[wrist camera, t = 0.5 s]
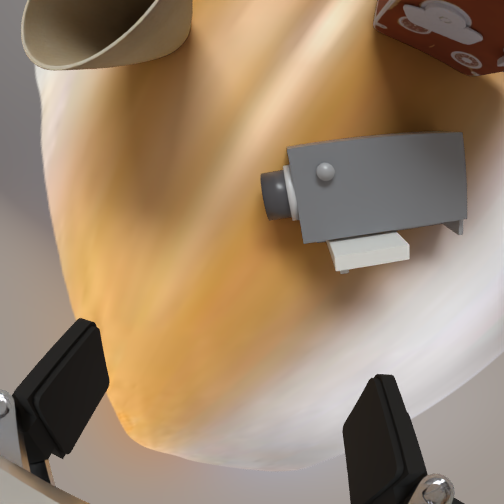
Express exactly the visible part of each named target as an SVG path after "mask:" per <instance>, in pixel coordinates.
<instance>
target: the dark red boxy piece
mask: <svg viewBox="0 0 504 504" xmlns="http://www.w3.org/2000/svg"><path fill="white" fill-rule="evenodd" d="M373 25H374V29H376V30H377V31H379V32H381V33H383V34H385V35H387V36H389V37H392V38H394V39H396V40H399V41H401V42H403V43H406V44H408V45H410V46H412V47H414V48H416V49H418V50H420V51H422V52H424V53H426V54H428V55H430V56H432V57H434V58H436V59H438V60H440V61H442V62H443V63H445V64H447V65H449V66H451V67H452V68H454V69H456V70H458V71H459V72H461V73H463V74H465V75H468V76H480V75H486V74H491V73H497V72H504V0H377V5H376V10H375V15H374V20H373Z"/></svg>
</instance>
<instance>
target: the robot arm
mask: <svg viewBox="0 0 504 504" xmlns="http://www.w3.org/2000/svg"><path fill="white" fill-rule="evenodd" d="M108 386H109V376H108V371H107V367H106V362H105V357H104V352H103V346H102V341H101V335H100V330H99V328H97V327H96V324H95V323H94V322H91V321H88V320H85V319H82V318H79V319H78V320H77V321H76V322H75V323H74V324H73V325H72V326H71V327H70V328H69V329H68V330H67V331H66V333H65V334H64V335H63V336H62V337H61V338H60V339H59V340H58V341H57V342H56V343H55V345H54V346H53V347H52V348H51V349H50V350H49V351H48V352H47V353H46V355H45V356H44V357H43V358H42V359H41V360H40V361H39V363H38V364H37V365H36V366H35V367H34V369H33V370H32V371H31V372H30V373H29V374H28V375H27V377H26V378H25V379H24V380H23V381H22V383H21V384H20V385H19V386H18V387H17V389H16V390H15V391H14V393H13V395H12V396H11V395H10V394H9V393H8V392H7V391H4V390H0V504H89V503H87V502H85V501H83V500H81V499H79V498H76V497H75V496H72V495H71V494H69V493H67V492H65V491H63V490H60V489H59V488H57V487H56V486H55V483H54V479H53V476H52V472H51V469H50V464H49V460H48V458H49V457H50V455H51V453H52V454H54V455H56V456H58V457H60V458H62V459H63V457H64V456H65V454H69V453H70V452H71V451H72V449H73V447H74V446H75V443H76V442H77V440H78V438H79V437H80V435H81V433H82V431H83V430H84V428H85V426H86V425H87V423H88V421H89V419H90V418H91V416H92V414H93V412H94V411H95V409H96V407H97V406H98V404H99V402H100V400H101V399H102V397H103V396H104V394H105V392H106V391H107V389H108ZM343 439H344V447H345V455H346V463H347V472H348V480H349V491H350V501H351V504H464V503H462V502H460V501H459V500H457V499H455V498H454V487H453V484H452V483H451V481H450V480H449V479H448V478H447V477H445V476H444V475H441V474H430V475H427V471H426V467H425V464H424V461H423V457H422V454H421V450H420V447H419V444H418V441H417V438H416V434H415V431H414V429H413V425H412V422H411V419H410V416H409V414H408V413H407V411H406V408H405V405H404V403H403V400H402V397H401V394H400V391H399V389H398V386H397V383H396V380H395V378H394V376H393V375H384V374H377V375H375V377H374V378H371V379H370V380H369V381H368V383H367V385H366V387H365V389H364V391H363V392H362V394H361V396H360V398H359V400H358V401H357V403H356V405H355V406H354V408H353V410H352V412H351V413H350V415H349V417H348V418H347V420H346V422H345V423H344V426H343Z"/></svg>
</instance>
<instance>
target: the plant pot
mask: <svg viewBox="0 0 504 504" xmlns="http://www.w3.org/2000/svg"><path fill="white" fill-rule="evenodd" d="M191 21H192V0H28V1H27V3H26V6H25V9H24V13H23V18H22V23H21V38H22V44H23V48H24V50H25V52H26V54H27V56H28V58H29V59H30V60H31V61H32V62H33V63H34V64H35V65H37V66H39V67H41V68H43V69H47V70H78V69H97V68H109V67H117V66H125V65H131V64H137V63H142V62H146V61H150V60H154V59H157V58H160V57H163V56H166V55H169V54H171V53H172V52H174V51H175V50H177V49H178V48H179V47H180V46H181V45H182V44H183V43H184V41H185V40H186V38H187V37H188V34H189V31H190V27H191Z"/></svg>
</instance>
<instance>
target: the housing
mask: <svg viewBox="0 0 504 504" xmlns="http://www.w3.org/2000/svg"><path fill="white" fill-rule="evenodd" d="M287 152H288V157H289V163H290V165H285V166H283V170H280V171H274V172H268V173H263V174H261V188H262V195H263V200H264V205H265V209H266V213H267V217H268V219H269V221H271V220H277V219H283V218H289V217H292V220H293V221H296V220H300V224H301V231H302V237H303V243H304V244H306V243H312V242H317V243H319V242H326V240H332V239H338V238H345V237H351V236H358V235H364V234H371V233H378V232H384V231H391V230H395V231H398V230H404V229H411V228H417V227H424V226H430V225H437V224H443V225H445V226H446V227H448V228H449V229H451V230H452V231H453V232H455V233H456V234H458V235H463V219H467V181H466V164H465V152H464V142H463V133H462V132H449V131H424V132H407V133H393V134H382V135H371V136H361V137H352V138H344V139H336V140H329V141H321V142H314V143H308V144H301V145H295V146H289V147H287Z"/></svg>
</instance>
